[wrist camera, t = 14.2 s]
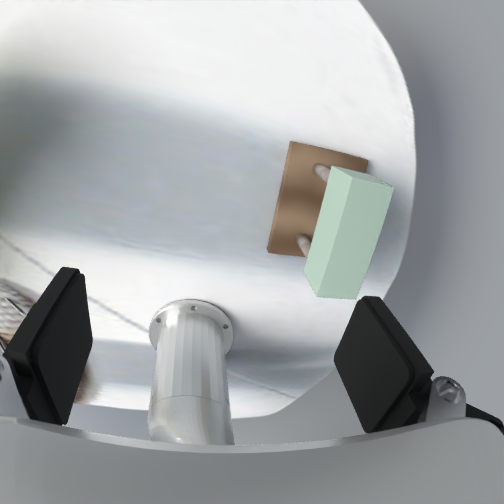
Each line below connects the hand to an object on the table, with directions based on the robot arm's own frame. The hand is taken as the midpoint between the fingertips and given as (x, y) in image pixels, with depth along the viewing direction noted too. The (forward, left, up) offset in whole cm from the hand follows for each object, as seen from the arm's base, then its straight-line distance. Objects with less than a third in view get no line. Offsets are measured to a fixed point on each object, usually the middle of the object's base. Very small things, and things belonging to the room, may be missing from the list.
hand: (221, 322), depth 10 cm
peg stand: (-3, -13, -28) cm, 31 cm away
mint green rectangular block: (-3, -13, -21) cm, 25 cm away
